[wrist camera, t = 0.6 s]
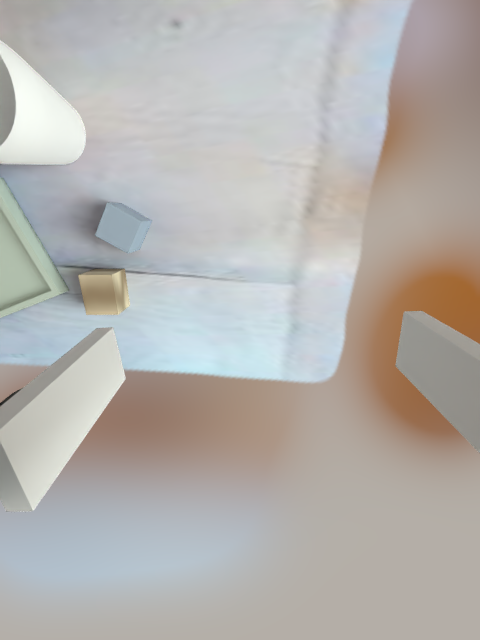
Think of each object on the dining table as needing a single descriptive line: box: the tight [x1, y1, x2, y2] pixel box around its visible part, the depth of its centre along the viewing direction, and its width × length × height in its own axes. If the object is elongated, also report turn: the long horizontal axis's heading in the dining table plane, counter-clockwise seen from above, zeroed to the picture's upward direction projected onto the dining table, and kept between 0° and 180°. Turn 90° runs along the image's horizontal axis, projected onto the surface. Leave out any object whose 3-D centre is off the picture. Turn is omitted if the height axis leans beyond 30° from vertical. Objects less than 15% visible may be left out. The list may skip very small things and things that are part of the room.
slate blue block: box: [95, 202, 152, 253], centre depth 34 cm, size 4×4×4 cm
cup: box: [0, 41, 86, 165], centre depth 27 cm, size 9×9×12 cm
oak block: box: [78, 269, 130, 315], centre depth 37 cm, size 5×4×4 cm
